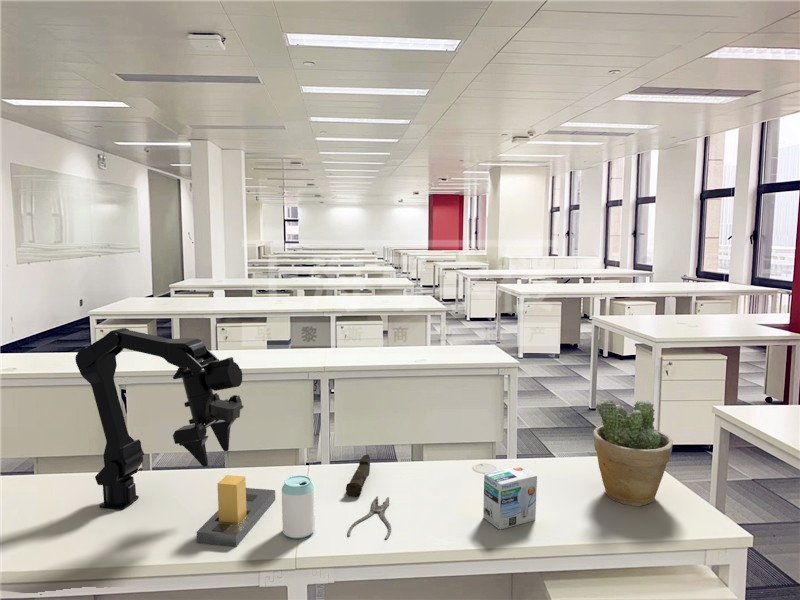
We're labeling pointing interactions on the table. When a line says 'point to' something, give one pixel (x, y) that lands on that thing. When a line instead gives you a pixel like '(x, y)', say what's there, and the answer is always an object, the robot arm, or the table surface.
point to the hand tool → (359, 477)
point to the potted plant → (630, 452)
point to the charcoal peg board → (236, 532)
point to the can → (298, 507)
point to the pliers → (374, 509)
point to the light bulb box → (509, 497)
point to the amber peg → (232, 499)
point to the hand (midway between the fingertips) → (216, 458)
